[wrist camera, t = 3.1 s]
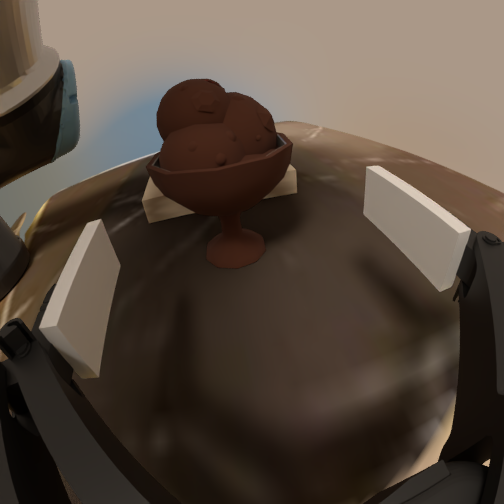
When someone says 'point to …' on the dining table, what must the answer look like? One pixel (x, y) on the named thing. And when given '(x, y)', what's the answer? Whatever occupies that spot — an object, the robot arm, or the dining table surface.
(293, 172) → the maple stand board
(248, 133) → the ice cream bowl
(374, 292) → the dining table surface
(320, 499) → the dining table surface
